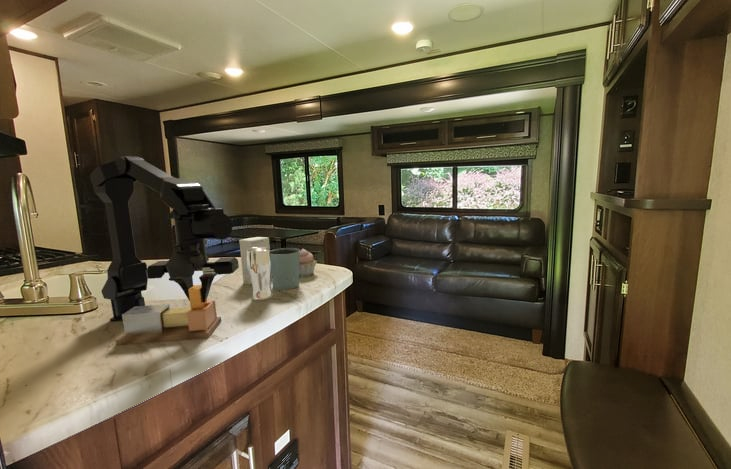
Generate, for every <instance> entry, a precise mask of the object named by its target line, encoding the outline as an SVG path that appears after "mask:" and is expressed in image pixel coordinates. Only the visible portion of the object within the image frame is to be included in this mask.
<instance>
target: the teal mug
mask: <svg viewBox="0 0 731 469" xmlns="http://www.w3.org/2000/svg"><path fill="white" fill-rule="evenodd" d="M300 251H301V250H300V248H294V247H283V248H282V247H281V248H276V249H275V248H274V249H272V250H271V249H270V255H271V262H272V270H271V275H272V280H271V284H272V288H273V289H274V290H276V291H277V290H281V291H285V290H291V289H294V288H297V287H299V285H300V277H299V259H300Z"/></svg>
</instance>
